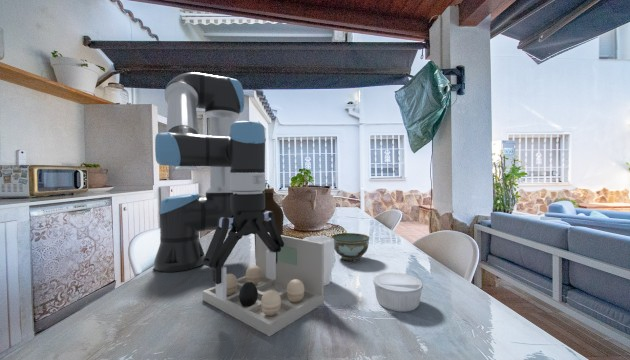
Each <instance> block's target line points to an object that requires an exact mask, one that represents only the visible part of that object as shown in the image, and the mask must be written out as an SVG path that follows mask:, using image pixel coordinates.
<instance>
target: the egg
mask: <svg viewBox="0 0 630 360" xmlns="http://www.w3.org/2000/svg"><path fill="white" fill-rule="evenodd" d="M257 298H258V291H257V288H256V286H255V285H254V284H253V283H252V282H246V283H245V284H244V285H243V286H242V287H241V290H240V293H239V300H240V303H241V304H242V305H243V306H245V307H250V306H252V305H254V304H255V303H256V301H257Z"/></svg>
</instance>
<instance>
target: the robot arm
mask: <svg viewBox="0 0 630 360" xmlns="http://www.w3.org/2000/svg"><path fill="white" fill-rule="evenodd" d="M164 100H165V102H166V104H167V113H166V114H167V115H166V117H167V118H166V129H165V130H166V132H158V133H156V135H155V138H154V144H155V145H154V152H155V153H154V155H155V161H156V163H157V164H158V165H160V166H170V167H175V168H176V167H209V170H210V171H209V174H210V175H209V176H210V178H209V179H210V181H209V183H210V184H209V185H210V186H209V188H208V189H207V190H206V191H205V196H202V197H200V194H199V192H195V193H194V192H193V193H185V194H177V195H173V196H168V197H164V198H163V199H162V200H161V201H160V209H159V217H160V221H159V222H160V224H159V225H160V227H159V230H160V231H159V233H160V234H159V235H160V236H159V237H160V239H159V242H160V243H159V246H158V249H157V253H156V255H155V257H154V260H153V261H154V262H153V268H154V270H156V271H157V272H164V273H166V272H167V273H170V272H171V273H174V272H175V273H176V272H183V271H188V270H192V269H195V268H198V267H200V266H202V265H203V266H206V267H208V268H211V269H212V270H211V275H212V276H211V278H212V279H211V281H212V283H213V284H215V286H216V297H217V298H219V299H221V300H226V299H227V298H226V274H227V267H226V266H224V264H225V263H226V261H227V259H228V258H229V257H230V255H231V254H232V252H233V250H234V249H235V247H236V245H237V244H238V242H239V240H241V239H242V238H243V237H246V236H249V235H254V234H256V233H257V235H258V236H259V237H260V238H261V240H262V241H263V242H264V244H265V245H266V246H267V247H268V249H269V250H270V251H269V250H268V251H266V278H269V279H272V280H275V279H276V264H277V252H280V251H281V247H283V246H284V242H283V240H282V237H281V235H280V232H279V230H278V227H277V225H276V222H275V216H274V212H272V211H265V212H264V213H263V210H264V209H265V195H264V190H265V189H266V139H267V138H266V131H265V130H266V129H265V126H264V125H263V124H262V123H260V122H256V121H251V120H249V121H248V120H240V121H237V119H238V118H240V114H241V113H243V112H244V109H245V94H244V89H243V85H242V82H241V81H239V80H238V79H236V78H231V77H229V76H221V75H213V74H208V73H202V72H195V71H194V72H193V71H191V72H189V71H188V72H186V73H181V74H179V75H176V76H175V77H173V78H172V79H170V80H169V82H168V83H167V85H166V86H165V89H164ZM197 109H204V114H205V116H206V117H207V118H208V119H209V134H200V132H199V122H198V113H197ZM263 221H265V224H266V226H267V229H268V231H269V234H270V235H269V234H268V232H267V231H266V230H267V229H266V228H265V227H264V225H263V224H262V223H263ZM208 231H214V233H213V236H212V238H211V241H210V243H209V246H208V248H207V250H206V252H204V249H203V247H202V243H201V241H200V232H208Z"/></svg>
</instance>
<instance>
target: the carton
mask: <svg viewBox="0 0 630 360" xmlns="http://www.w3.org/2000/svg"><path fill="white" fill-rule="evenodd" d="M268 234H269V233H268ZM269 235H270V234H269ZM281 237H282V240H283V242H284V246H283V247H281V251H280V252H277V264H276V279H275V280H272V279H269V278H266V251H268V250H269V249H268V247H267V246H266V245H265V244H264V242H263V241H262V240H261V238H260V237H259V236H258V235H257V233H256V259H255V265H251V266H249V267H247V268H246V271H245V275H244V276H241V277H239V278H237V276H236V275H234V273H226V298H227V299H226V300H221V299H219V298H217V297H216V285H215V286H213V287H209V288H207V289H204V290H202V301H204V302H205V303H207V304H209V305H211V306H213V307H214V308H216V309H219V310H220V311H222V312H223V313H226V314H227V315H229V316H231V317H233V318H235V319H236V320H238V321H241V322H242V323H244V324H245V325H248V326H249V327H252V328H253V329H255V330H257V331H259V332H260V333H262V334H264V335H265V336H266V335H267V336H269V337H271V336H273V335H275V334H277V332H279V331H281V330H282V329H285V328H286V327H288V326H289V325H291V324H292V323H294V322H296V321H297V320H298V319H300V318H302V317H304V316H306V315H307V314H308V313H310V312H312V311H313V310H315V309H316V308H317V309H318V308H319V307H320V306H321V304H322V305H323V304H324V303H325V302H324V301H325V300H324V298H325V297H324V296H325V291H324V290H325V286H324V243H319V242H314V241H309V240H304V239H303V238H297V237H293V236H288V235H284V234H283V235H281ZM269 251H270V250H269ZM246 282H252V283H253V284H254V285H255V286H256V288H257V291H258V298H257V301H256V303H255V304H254V305H252V306H250V307H245V306H243V305H242V304H241V303H240V300H239V293H240V290H241V287H242V286H243V285H244V284H245V283H246Z"/></svg>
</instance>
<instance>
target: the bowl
mask: <svg viewBox="0 0 630 360" xmlns="http://www.w3.org/2000/svg"><path fill="white" fill-rule="evenodd" d="M331 238H333V239H334V252H335V253H336V254H338V256H340V257H341V260H342V261H346V262H357V261H359V260H360V257H362V256H364V254H366V253H367V251H368V248H369V245H370V244H369V243H370V236H368V235H366V234H363V233H356V232H354V233H353V232H341V233H335V234H332V235H331Z"/></svg>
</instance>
